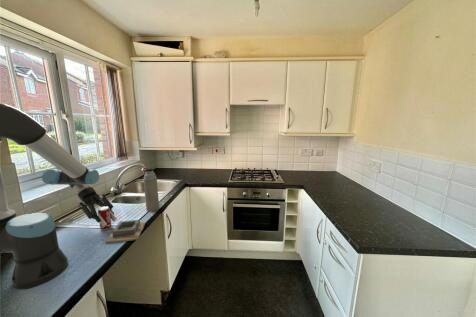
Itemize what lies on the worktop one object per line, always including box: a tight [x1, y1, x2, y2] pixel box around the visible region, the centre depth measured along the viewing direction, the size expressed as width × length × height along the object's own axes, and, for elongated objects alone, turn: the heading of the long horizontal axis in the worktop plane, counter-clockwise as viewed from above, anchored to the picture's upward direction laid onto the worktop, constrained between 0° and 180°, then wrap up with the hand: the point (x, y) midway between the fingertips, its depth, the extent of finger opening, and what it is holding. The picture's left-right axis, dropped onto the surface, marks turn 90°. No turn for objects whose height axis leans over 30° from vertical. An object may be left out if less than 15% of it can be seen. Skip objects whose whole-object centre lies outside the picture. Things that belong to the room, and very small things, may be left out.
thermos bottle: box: [143, 168, 160, 212], centre depth 125 cm, size 8×8×28 cm
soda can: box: [97, 206, 112, 231], centre depth 103 cm, size 5×5×12 cm
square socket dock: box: [105, 219, 146, 244], centre depth 100 cm, size 16×14×4 cm
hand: (110, 222), depth 103 cm, fingers closed on soda can, 5 cm apart
